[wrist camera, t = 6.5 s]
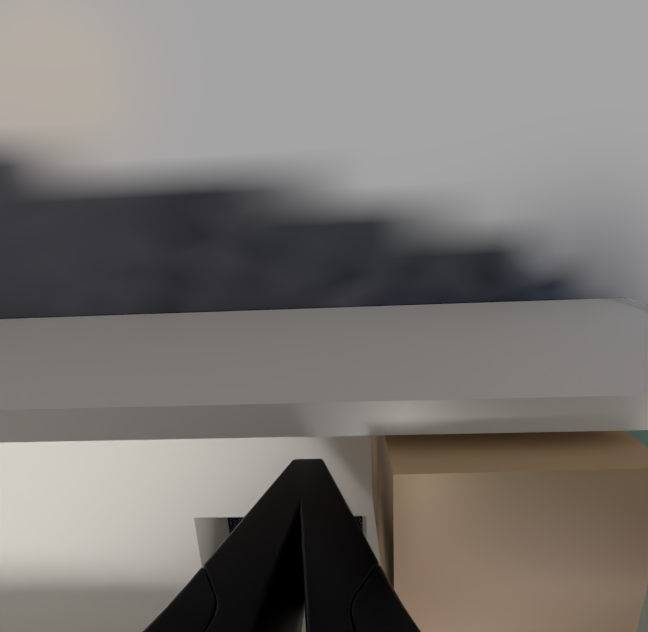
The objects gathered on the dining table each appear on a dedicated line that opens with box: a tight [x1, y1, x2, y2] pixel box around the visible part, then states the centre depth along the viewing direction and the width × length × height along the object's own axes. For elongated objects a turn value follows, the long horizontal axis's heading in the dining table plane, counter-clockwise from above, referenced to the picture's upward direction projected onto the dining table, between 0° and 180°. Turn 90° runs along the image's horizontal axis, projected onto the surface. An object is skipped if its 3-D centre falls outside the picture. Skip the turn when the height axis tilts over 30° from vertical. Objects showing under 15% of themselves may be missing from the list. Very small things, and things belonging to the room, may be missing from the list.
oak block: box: [371, 431, 648, 632], centre depth 8 cm, size 4×4×4 cm
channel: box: [0, 298, 648, 632], centre depth 10 cm, size 11×22×6 cm, turn 93°
